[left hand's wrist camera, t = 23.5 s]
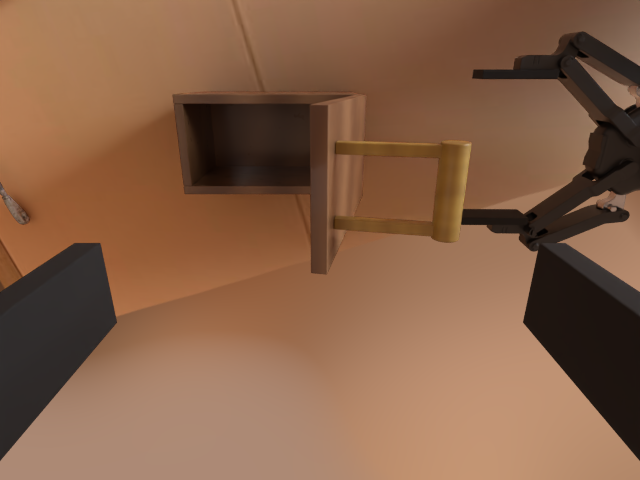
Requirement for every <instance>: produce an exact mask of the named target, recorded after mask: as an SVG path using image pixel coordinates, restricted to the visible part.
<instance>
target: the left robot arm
mask: <svg viewBox="0 0 640 480" xmlns="http://www.w3.org/2000/svg"><path fill="white" fill-rule="evenodd" d="M116 323H117V321H116V316H115V311H114V306H113V301H112V297H111V292H110V287H109V282H108V278H107V273H106V268H105V263H104V258H103V254H102V249H101V244H100V243H74V244H73V245H71V246H70V247H68V248H67V249H65V250H63V251H62V252H60V253H59V254H57V255H56V256H54V257H53V258H51V259H50V260H48V261H47V262H45V263H44V264H42V265H41V266H39V267H38V268H36V269H35V270H33V271H32V272H30V273H28V274H27V275H25V276H24V277H22V278H21V279H19V280H18V281H16V282H15V283H13V284H12V285H10V286H9V287H7V288H6V289H4V290H3V291H1V292H0V460H1V459H2V458H3V457H4V456H5V454H6V453H7V452H8V451H9V450H10V449H11V447H12V446H13V445H14V444H15V443H16V441H17V440H18V439H19V438H20V437H21V436H22V434H23V433H24V432H25V431H26V430H27V428H28V427H29V426H30V425H31V424H32V422H33V421H34V420H35V419H36V418H37V417H38V415H39V414H40V413H41V412H42V411H43V409H44V408H45V407H46V406H47V405H48V404H49V402H50V401H51V400H52V399H53V398H54V396H55V395H56V394H57V393H58V392H59V390H60V389H61V388H62V387H63V386H64V385H65V383H66V382H67V381H68V380H69V379H70V377H71V376H72V375H73V374H74V373H75V372H76V370H77V369H78V368H79V367H80V366H81V364H82V363H83V362H84V361H85V360H86V358H87V357H88V356H89V355H90V354H91V353H92V351H93V350H94V349H95V348H96V347H97V345H98V344H99V343H100V342H101V341H102V340H103V338H104V337H105V336H106V335H107V334H108V332H109V331H110V330H111V329H112V328H113V327H114V325H115V324H116ZM523 323H524V324H525V325H526V327H527V328H528V329H529V330H530V331H531V332H532V334H533V335H534V336H535V337H536V338H537V340H538V341H539V342H540V343H541V344H542V345H543V347H544V348H545V349H546V350H547V351H548V353H549V354H550V355H551V356H552V357H553V358H554V360H555V361H556V362H557V363H558V364H559V365H560V367H561V368H562V369H563V370H564V371H565V373H566V374H567V375H568V376H569V377H570V379H571V380H572V381H573V382H574V383H575V385H576V386H577V387H578V388H579V389H580V390H581V392H582V393H583V394H584V395H585V396H586V398H587V399H588V400H589V401H590V402H591V404H592V405H593V406H594V407H595V408H596V409H597V411H598V412H599V413H600V414H601V415H602V417H603V418H604V419H605V420H606V421H607V422H608V424H609V425H610V426H611V427H612V428H613V430H614V431H615V432H616V433H617V434H618V436H619V437H620V438H621V439H622V440H623V441H624V443H625V444H626V445H627V446H628V447H629V449H630V450H631V451H632V452H633V453H634V454H635V456H636V457H637V458H638V459H639V460H640V292H639V291H637V290H636V289H634V288H633V287H631V286H630V285H628V284H627V283H625V282H624V281H622V280H621V279H619V278H618V277H616V276H615V275H613V274H612V273H610V272H608V271H607V270H605V269H604V268H602V267H601V266H599V265H598V264H596V263H595V262H593V261H592V260H590V259H589V258H587V257H586V256H584V255H583V254H581V253H579V252H578V251H577V250H575V249H573V248H572V247H570V246H569V245H567V244H566V243H540V244H539V249H538V254H537V258H536V263H535V268H534V273H533V278H532V282H531V287H530V292H529V297H528V301H527V306H526V311H525V316H524V321H523Z"/></svg>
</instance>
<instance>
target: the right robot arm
mask: <svg viewBox="0 0 640 480" xmlns="http://www.w3.org/2000/svg"><path fill="white" fill-rule="evenodd" d="M575 57H577V58H578V59H580V60H582V61H583V62H585V63H587V64H588V65H590V66H592V67H593V68H595V69H596V70H598V71H600V72H601V73H603V74H605V75H606V76H608V77H610V78H611V79H613V80H614V81H616V82H618V83H620V84H623V85H626V86H629V87H628V92H630V94H631V95H632V96H634V97H635V98H636V104H634V105H632V106H630V107H628V108H626V109H625V110H623V109H622V108H620V107H618V106H617V105H615V104H614V102H613V101H612V100H611V99H610V98H609V97H608V96H607V94H606V93H605V92H604V91H603V90H602V89H601V87H600V86H599V85H598V84H597V83H596V82H595V81H594V79H593V78H592V77H591V76H590V75H589V74H588V73H587V71H586V70H585V69H584V68H583V67H582V66H581V65H580V63H579V62H578V61H577V60H576V59H575ZM472 78H475V79H558V80H559V81H560V82H561V83H562V84H563V85H564V86H565V87H566V88H567V90H568V91H569V92H570V93H571V94H572V95H573V96H574V97H575V98H576V100H577V101H578V102H579V103H580V104H581V105H582V106H583V107H584V108H585V110H586V111H587V112H588V113H589V117H590V118H591V119H592V120H593V121H594V122H595V123H596V125H597V126H598V127H597V128H596V129H595V131H594V132H593V133H590V137H589V149H588V151H587V153H586V155H585V157H584V161H583V165H585V168H586V169H585V170H584V171H582V172H581V173H579V174H578V175H576V176H575V177H574V178H573V181H572V182H571V183H569V184H568V185H566V186H565V187H563V188H562V189H560V190H559V191H557V192H556V193H554V194H553V195H551V196H550V197H548V198H547V199H545V200H544V201H542V202H541V203H540V204H538V205H537V206H535V207H534V208H532V209H531V210H529V211H528V212H526V213H525V214H522V213H521V212H520V211H518V210H515V209H514V210H513V209H512V210H511V209H463V212H462V220H461V225H487V227H488V228H489V229H490V230H491V231H492V232H494V233H519V234H520V236H519V240H520V242H522V243H523V244H524V245H525V246H526V247H527V248H528V249H529V250H531V251H537V250H538V249H539V244H540V243H557V242H560V241H562V240H565V239H567V238H570V237H572V236H575V235H577V234H580V233H582V232H585V231H587V230H590V229H592V228H595V227H597V226H600V225H602V224H605V223H615V222H623V221H626V220H627V219H628V218H629V212H628V211H626V210H624V204H625V198H626V194H629V193H631V192H633V191H637V190H640V66H638V65H637V64H635V63H634V62H632V61H630V60H629V59H627V58H626V57H624V56H622V55H621V54H619V53H618V52H616V51H614V50H613V49H611V48H610V47H608V46H606V45H605V44H603V43H602V42H600V41H599V40H597V39H595V38H594V37H592V36H591V35H589V34H587V33H586V32H576V33H570V34H565V35H563V36H562V37H561V38H560V40H559V46H558V48H557V50H556V51H555V52H554V53H553V54H552V55H525V56H519V57H517V58H515V62H514V68H513V70H473V77H472ZM593 179H595V180H596V181H592V180H593ZM607 190H608V191H610V195H609V196H608V197H607V198H605V199H602V200H598V201H597V202H596V204H595V205H590V206H587V207H584V208H581V209H579V210H577V211H574V212H572V213H569V214H567V215H565V214H566V213H568V212H569V211H571V210H572V209H574V208H575V207H577V206H578V205H580V204H581V203H583V202H584V201H586V200H588V199H589V198H590V197H593V196H598V195H600V194H602V193H603V192H605V191H607ZM563 215H564V216H563Z"/></svg>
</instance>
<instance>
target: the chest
mask: <svg viewBox="0 0 640 480" xmlns="http://www.w3.org/2000/svg"><path fill="white" fill-rule="evenodd" d="M352 95H360V94H357V93H354V92H194V93H182V94H173V102H174V110H175V118H176V126H177V134H178V142H179V151H180V159H181V167H182V175H183V183H184V192H185V194H310V105H311V104H316V103H320V102H325V101H329V100H334V99H339V98H343V97H348V96H352Z"/></svg>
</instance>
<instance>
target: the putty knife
mask: <svg viewBox="0 0 640 480" xmlns="http://www.w3.org/2000/svg"><path fill="white" fill-rule="evenodd" d="M0 194H1V195H2V196H3V197H2V198H3V200H4V202H5V205H6V206H7V208H8V209H9V211H10V212H11V214H12V215H13V217H14V218H15V219H16V221H17V222H18V223H20V224H27V223H28V222H29V221H30V219H29V217H28V215H27V214H26V212H25V211H24V210H23V209H22V208H21V207H20V206H19V205H18V204H17V203H16V202H15V201H14V200H13V199H12V198H11V197H10V196H9V195H7V193H6V192H5V190H4V188H3V186H2V184H1V183H0Z"/></svg>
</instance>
